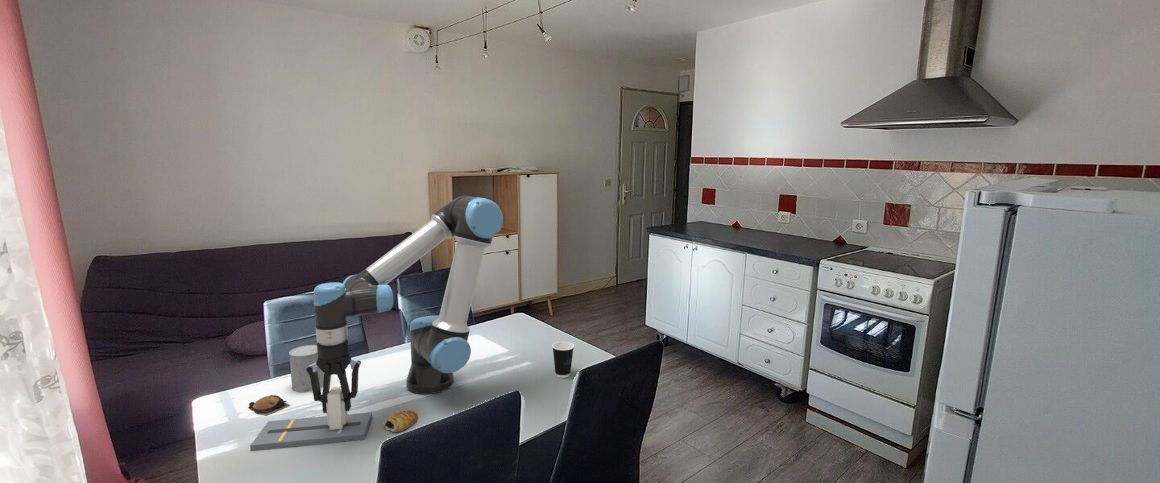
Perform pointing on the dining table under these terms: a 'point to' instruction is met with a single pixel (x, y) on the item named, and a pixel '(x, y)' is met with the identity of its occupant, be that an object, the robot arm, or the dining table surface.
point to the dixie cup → (563, 358)
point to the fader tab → (335, 408)
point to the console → (310, 432)
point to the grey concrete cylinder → (303, 367)
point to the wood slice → (268, 405)
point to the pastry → (400, 421)
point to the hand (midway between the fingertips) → (337, 422)
